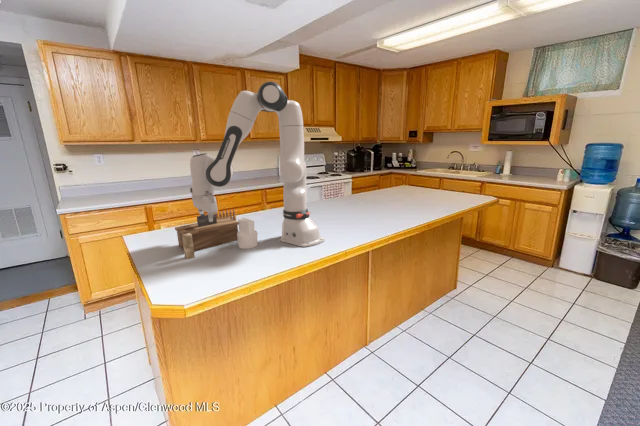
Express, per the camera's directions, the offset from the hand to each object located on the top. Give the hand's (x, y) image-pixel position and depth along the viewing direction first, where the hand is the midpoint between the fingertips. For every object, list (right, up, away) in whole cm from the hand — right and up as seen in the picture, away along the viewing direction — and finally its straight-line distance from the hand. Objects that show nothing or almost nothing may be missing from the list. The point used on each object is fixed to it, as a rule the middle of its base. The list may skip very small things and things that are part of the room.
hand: (206, 219), depth 137 cm
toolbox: (0, -11, +3) cm, 12 cm away
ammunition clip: (+3, -7, +20) cm, 22 cm away
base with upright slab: (+19, -12, 0) cm, 23 cm away
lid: (0, -4, +1) cm, 4 cm away
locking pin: (-2, -16, -13) cm, 21 cm away
